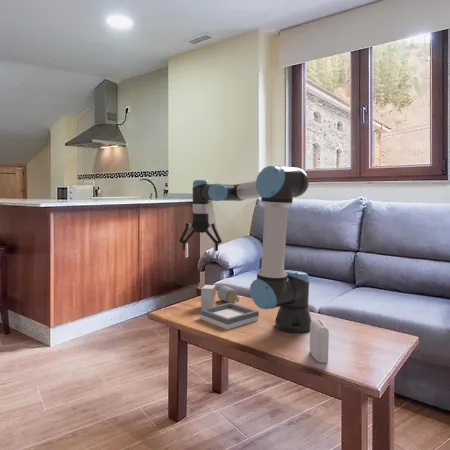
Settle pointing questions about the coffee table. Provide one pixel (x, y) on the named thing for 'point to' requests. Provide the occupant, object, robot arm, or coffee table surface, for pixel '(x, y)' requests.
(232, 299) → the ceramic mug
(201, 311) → the square gray-rimmed holder
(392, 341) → the coffee table surface
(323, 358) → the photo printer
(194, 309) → the coffee table surface
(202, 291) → the small box
